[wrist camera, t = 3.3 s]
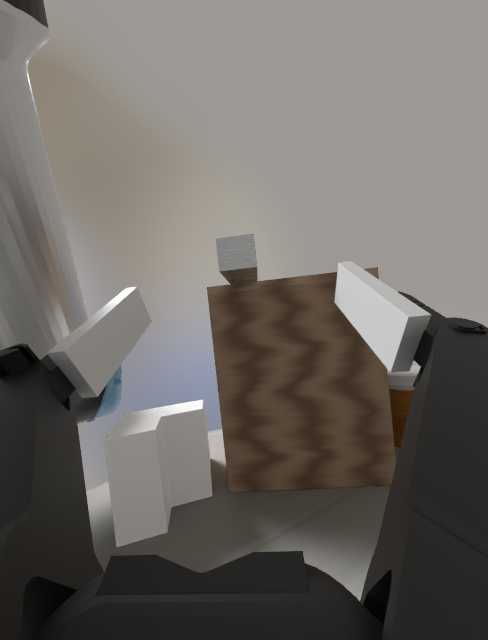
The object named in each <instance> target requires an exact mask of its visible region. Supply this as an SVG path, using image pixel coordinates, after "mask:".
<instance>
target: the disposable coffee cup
mask: <svg viewBox="0 0 488 640" xmlns="http://www.w3.org/2000/svg"><path fill="white" fill-rule="evenodd" d="M420 367H421V366H420V365H414V364H412V366H411V369H410V371H405V372H393V373H390V371H389V370H388V369H387V373H388V383H389V394H390V404H391V415H392V426H393V436H394V445H396V446H399V447H401V442H402V438H403V434H404V430H405V426H406V421H407V417H408V413H409V409H410V405H411V401H412V396H413V392H414V388H415V387H413V384H414V382H415V379H416V377H417V375H418V372H419V370H420Z"/></svg>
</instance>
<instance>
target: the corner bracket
mask: <svg viewBox="0 0 488 640" xmlns="http://www.w3.org/2000/svg"><path fill="white" fill-rule="evenodd" d="M104 448H105V456H106V465H107V472H108V481H109V489H110V498H111V506H112V514H113V523H114V531H115V539H116V547H120V546H123V545H126V544H130V543H133V542H137V541H140V540H144V539H147V538H150V537H154V536H157V535H161V534H164V533H167V532H168V526H169V520H170V513H171V507H175V506H178V505H182V504H186V503H189V502H193V501H197V500H200V499H204V498H208V497H212V496H213V494H212V478H211V463H210V452H209V443H208V434H207V425H206V416H205V411H204V404H203V400H198V401H192V402H186V403H181V404H175V405H170V406H164V407H158V408H153V409H147V410H142V411H136V412H131V413H125V414H124V416H123V417H122V418H121V419H120V420H119V422H118V423H117V424H116V425H115V427H114V428H113V429H112V430H111V431H110V433H109V434H108V435H107V436H106V438H105V439H104Z"/></svg>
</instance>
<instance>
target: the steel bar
mask: <svg viewBox="0 0 488 640" xmlns="http://www.w3.org/2000/svg"><path fill="white" fill-rule="evenodd" d="M216 245H217V254H218V264H219V271H220V273H221V274H222V275H223V276H224V277H225V278H226V279H227V281H228V282H229V283H230V284H240V283H248V282H257V261H256V252H255V242H254V234H249V235H242V236H234V237H226V238H219V239H216Z"/></svg>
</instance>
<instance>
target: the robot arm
mask: <svg viewBox="0 0 488 640" xmlns="http://www.w3.org/2000/svg"><path fill="white" fill-rule="evenodd" d="M49 39H50V35H49V30H48V24H47V19H46V14H45V8H44V3H43V0H0V640H488V328H487V327H485V326H484V325H482V324H480V323H477V322H475V321H471V320H467V319H462V318H445V317H444V316H442V315H441V314H439V313H438V312H436V311H434V310H433V309H431V308H430V307H428V306H425V304H423V303H422V302H419V301H418V300H417V299H415V298H414V297H412V296H410V295H408V294H405V293H402V292H396V291H395V290H394V289H392V288H390V287H389V286H387V285H386V284H384V283H383V282H382V281H380V280H379V279H377V278H376V277H374V276H373V275H371V274H370V273H368V272H367V271H365V270H364V269H362V268H361V267H359V266H358V265H356V264H355V263H353V262H352V261H349V262H341V263H339V264H338V273H337V282H336V291H335V300H334V302H335V304H336V305H337V306H338V307H339V309H340V310H341V311H342V312H343V314H344V315H345V316H346V317H347V319H348V320H349V321H350V322H351V324H352V325H353V326H354V327H355V329H356V330H357V331H358V333H359V334H360V335H361V336H362V338H363V339H364V340H365V341H366V343H367V344H368V345H369V346H370V348H371V349H372V350H373V351H374V353H375V354H376V355H377V356H378V358H379V359H380V360H381V361H382V363H383V364H384V365H385V366H386V368H387V369H388V370H389V371H390V373H393V372H405V371H410V369H411V366H412V363H413V361H414V360H415V361H416V362H417V363H418V364H419V365H420V366H421V367H420V370H419V372H418V375H417V377H416V379H415V382H414V384H413V387H415V388H414V392H413V396H412V401H411V405H410V409H409V413H408V417H407V421H406V426H405V430H404V434H403V438H402V442H401V447H400V451H399V455H398V459H397V463H396V467H395V472H394V476H393V480H392V484H391V488H390V492H389V497H388V501H387V505H386V509H385V513H384V518H383V522H382V526H381V530H380V534H379V538H378V542H377V546H376V549H375V552H374V555H373V557H372V560H371V563H370V566H369V570H368V573H367V577H366V580H365V584H364V588H363V592H362V597H361V601H359V600H358V599H357V598H356V597H355V596H354V595H353V594H352V593H351V592H349V591H348V590H347V589H346V588H345V587H344V586H343V585H342V584H341V583H339V582H338V581H336V580H335V579H334V578H332V577H331V576H330V575H328V574H326V573H325V572H323V571H321V570H319V569H318V568H316V567H313V566H311V565H308V564H306V563H304V557H303V551H288V552H253V553H251V554H248V555H246V556H244V557H241V558H239V559H236V560H234V561H232V562H229V563H227V564H225V565H222V566H220V567H218V568H215V569H213V570H210V571H208V572H205V573H197V572H195V571H192V570H190V569H188V568H185V567H183V566H181V565H178V564H176V563H174V562H171V561H169V560H167V559H164V558H162V557H160V556H157V555H132V556H111V558H110V561H109V563H108V566H107V569H106V572H105V573H104V571H103V569H102V567H101V565H100V563H99V562H98V560H97V558H96V556H95V553H94V549H93V543H92V535H91V527H90V520H89V512H88V504H87V496H86V488H85V481H84V473H83V465H82V458H81V449H80V442H79V434H78V426H77V424H78V423H82V422H85V421H87V422H91V421H94V420H95V419H96V418H99V417H102V416H105V415H108V414H111V413H113V412H114V411H115V410H116V409H117V408H118V406H119V404H120V400H121V372H122V371H121V364H122V362H123V361H124V360H125V358H126V357H127V355H128V354H129V353H130V351H131V350H132V348H133V347H134V346H135V344H136V343H137V341H138V340H139V339H140V337H141V336H142V334H143V333H144V332H145V330H146V329H147V327H148V326H149V325H150V323H151V319H150V316H149V314H148V312H147V309H146V307H145V304H144V302H143V300H142V297H141V295H140V293H139V290H138V288H137V287H132V288H126V289H125V290H123V291H122V292H121V293H120V294H118V295H117V296H116V297H115V298H114V299H112V300H111V301H110V302H109V303H107V304H106V305H105V306H104V307H103V308H101V309H100V310H99V311H98V312H96V313H95V314H94V315H93V316H91V317H90V318H89V319H88V317H87V313H86V309H85V306H84V302H83V297H82V293H81V289H80V285H79V281H78V277H77V273H76V269H75V265H74V261H73V256H72V252H71V249H70V244H69V241H68V236H67V232H66V228H65V224H64V220H63V216H62V212H61V208H60V204H59V200H58V196H57V192H56V187H55V183H54V180H53V176H52V172H51V167H50V163H49V159H48V155H47V151H46V147H45V143H44V139H43V135H42V131H41V127H40V123H39V119H38V114H37V110H36V106H35V102H34V98H33V95H32V90H31V86H30V82H29V78H28V74H27V65H28V61H29V60H30V59H31V58H32V57H33V56H34V54H35V53H37V51H38V50H39V49H40V48H41V47H42V46H43V45H44V44H45V43H46V42H47V41H48V40H49Z"/></svg>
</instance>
